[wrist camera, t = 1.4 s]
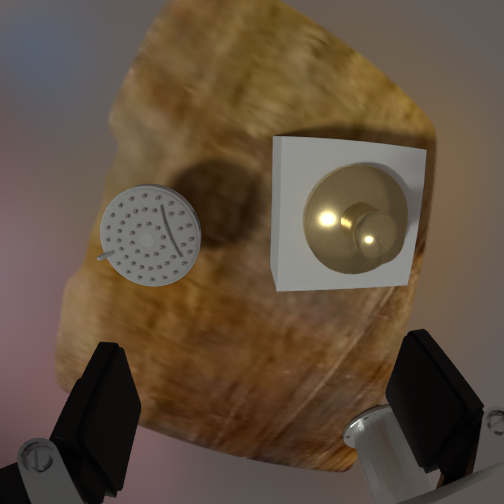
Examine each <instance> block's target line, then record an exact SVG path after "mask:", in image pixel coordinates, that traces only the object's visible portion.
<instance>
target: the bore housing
mask: <svg viewBox="0 0 504 504" xmlns="http://www.w3.org/2000/svg"><path fill="white" fill-rule="evenodd" d="M426 151H427V150H424V149H418V148H411V147H405V146H398V145H390V144H382V143H373V142H364V141H353V140H342V139H329V138H313V137H292V136H273V174H272V223H271V261H270V266H271V270H272V274H273V278H274V282H275V285H276V289H277V291H301V290H327V289H348V288H367V287H385V286H400V285H407V284H408V280H409V275H410V270H411V265H412V260H413V255H414V249H415V244H416V238H417V232H418V226H419V219H420V212H421V204H422V196H423V187H424V177H425V165H426ZM350 164H364V165H369V166H372V167H375V168H378V169H381V170H383V171H385V172H386V173H388V174H389V175H390V176H391V177H392V178H394V179H395V181H396V182H397V183H398V184H399V186H400V187H401V189H402V191H403V193H404V195H405V198H406V202H407V207H408V224H407V229H406V232H405V241H404V245H403V248H402V250H401V252H400V253H399V255H398V256H397V257H396V258H395V259H393V260H392V261H390V262H388V263H385V264H382V265H381V266H379V267H377V268H376V269H374V270H371V271H368V272H365V273H361V274H343V273H339V272H335V271H333V270H331V269H329V268H327V267H326V266H324V265H323V264H322V263H321V262H320V261H319V260H318V259H317V258H316V257H315V256H314V254H313V252H312V251H311V249H310V247H309V246H308V244H307V241H306V239H305V235H304V231H303V211H304V207H305V204H306V201H307V198H308V196H309V194H310V192H311V191H312V189H313V188H314V186H315V185H316V184H317V183H318V182H319V180H320V179H321V178H323V177H324V176H325V175H326V174H328V173H329V172H331V171H332V170H334V169H336V168H339V167H342V166H345V165H350Z"/></svg>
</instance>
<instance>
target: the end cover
mask: <svg viewBox="0 0 504 504" xmlns="http://www.w3.org/2000/svg"><path fill="white" fill-rule="evenodd" d="M407 224H408V207H407V202H406V198H405V195H404V193H403V191H402V189H401V187H400V186H399V184H398V183H397V182H396V181H395V179H394V178H392V177H391V176H390V175H389V174H388V173H386V172H385V171H383V170H381V169H378V168H375V167H372V166H369V165H364V164H350V165H345V166H342V167H339V168H336V169H334V170H332V171H331V172H329V173H328V174H326V175H325V176H324V177H323V178H321V179H320V180H319V182H318V183H317V184H316V185H315V186H314V188H313V189H312V191H311V192H310V194H309V196H308V198H307V201H306V204H305V207H304V211H303V231H304V235H305V239H306V241H307V244H308V246H309V247H310V249H311V251H312V252H313V254H314V256H315V257H316V258H317V259H318V260H319V261H320V262H321V263H322V264H323V265H324V266H326V267H327V268H329V269H331V270H333V271H335V272H339V273H343V274H361V273H365V272H368V271H371V270H374V269H376V268H377V267H379V266H381V265H382V264H385V263H388V262H390V261H392V260H393V259H395V258H396V257H397V256H398V255H399V253H400V252H401V250H402V248H403V245H404V241H405V232H406V229H407Z"/></svg>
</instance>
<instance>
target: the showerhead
mask: <svg viewBox="0 0 504 504" xmlns="http://www.w3.org/2000/svg"><path fill="white" fill-rule="evenodd" d="M100 237H101V243H102V247H103V250H104V253H103V254H101V255H100V256H98V257H97V259H98V260H99V261H100V260H102V259H104V258H107V259H108V260H109V262H110V263H111V265H112V266H113V267H114V268H115V269H116V270H117V271H118V272H119V273H120V274H121V275H123V276H124V277H125V278H127V279H129V280H131V281H133V282H135V283H138V284H141V285H145V286H163V285H167V284H170V283H173V282H175V281H177V280H179V279H180V278H182V277H183V276H184V275H185V274H187V273H188V271H189V270H190V269H191V268H192V266H193V265H194V263H195V261H196V259H197V257H198V254H199V249H200V244H201V227H200V222H199V219H198V217H197V214H196V212H195V210H194V209H193V207H192V206H191V204H190V203H189V202H188V201H187V200H186V199H185V198H184V197H183V196H182V195H181V194H179V193H178V192H176V191H174V190H173V189H171V188H168V187H166V186H162V185H158V184H142V185H138V186H135V187H132V188H130V189H128V190H125V191H124V192H122V193H120V194H119V195H118V196H116V197H115V198H114V199H113V200H112V201H111V203H110V204H109V205H108V207H107V208H106V210H105V212H104V215H103V218H102V221H101V228H100Z"/></svg>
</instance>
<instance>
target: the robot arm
mask: <svg viewBox="0 0 504 504" xmlns="http://www.w3.org/2000/svg"><path fill="white" fill-rule="evenodd" d="M385 394H386V399H387V401H388V402H389V404H385V405H380V406H377V407H374V408H372V409H370V410H367V411H366V412H364V413H362V414H360V415H359V416H357V417H356V418H355V419H354V420H352V421H351V422H350V423H349V424H348V425H347V427H346V428H345V430H344V432H343V439H344V442H345V444H346V445H348V446H350V447H353V448H356V451H357V454H358V457H359V460H360V463H361V466H362V469H363V472H364V475H365V478H366V481H367V484H368V487H369V491H370V494H371V497H372V500H373V503H374V504H504V408H502V407H491V408H489V409H487V410H486V411H485V413H484V411H483V410H482V409H483V407H484V405H483V403H482V402H481V401H480V399H479V398H478V396H477V395H476V394H475V392H474V391H473V390H472V388H471V387H470V386H469V384H468V383H467V381H466V380H465V379H464V377H463V376H462V375H461V373H460V372H459V371H458V369H457V368H456V367H455V366H454V364H453V363H452V362H451V360H450V359H449V358H448V357H447V355H446V354H445V353H444V351H443V350H442V349H441V348H440V346H439V345H438V344H437V343H436V342H435V340H434V339H433V338H432V337H431V335H430V334H429V333H428V332H427V331H426V330H425V329H420V330H413V331H410V332H409V333H408V334H407V336H405V337H404V338H403V341H402V344H401V348H400V351H399V354H398V357H397V360H396V363H395V366H394V368H393V371H392V374H391V377H390V380H389V382H388V385H387V388H386V392H385ZM140 413H141V402H140V399H139V396H138V393H137V390H136V387H135V384H134V381H133V378H132V375H131V371H130V368H129V365H128V362H127V358H126V355H125V351H124V349H123V348H122V347H119V345H118V344H117V343H112V342H100V343H99V344H98V346H97V348H96V350H95V351H94V353H93V355H92V357H91V359H90V361H89V363H88V365H87V367H86V369H85V371H84V373H83V375H82V377H81V378H80V379H78V380H77V381H76V383H75V385H74V387H73V389H72V391H71V393H70V395H69V397H68V399H67V401H66V403H65V406H64V408H63V410H62V412H61V415H60V416H59V418H58V421H57V423H56V425H55V427H54V430H53V432H52V434H51V436H50V439H49V440H48V439H45V438H34V439H30V440H28V441H27V442H25V443H24V444H23V445H22V446H21V447H20V449H19V451H18V455H17V462H16V463H14V464H11V465H9V466H6V467H4V468H1V469H0V504H102V503H103V500H104V496H110V497H116V495H117V491H121V490H122V488H123V485H124V480H125V475H126V471H127V466H128V462H129V458H130V453H131V449H132V445H133V441H134V436H135V433H136V429H137V425H138V421H139V417H140ZM438 468H439V469H440V471H441V475H440V478H439V481H438V484H437V487H436V489H435V490H434V489H433V487H432V484H431V482H430V480H429V478H428V476H427V474H426V473H429V472H432V471H434V470H437V469H438Z"/></svg>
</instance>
